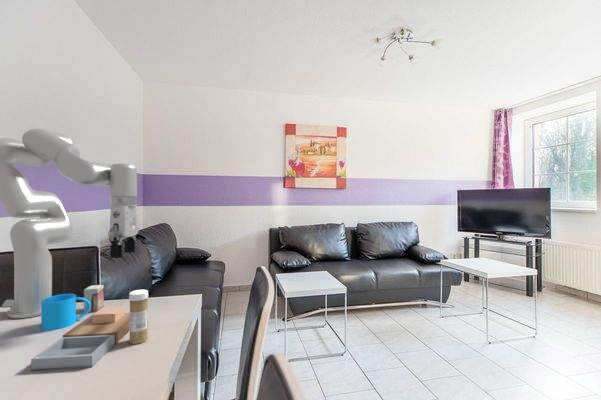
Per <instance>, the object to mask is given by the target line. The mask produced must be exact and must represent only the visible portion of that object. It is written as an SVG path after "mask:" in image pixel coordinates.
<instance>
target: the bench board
mask: <svg viewBox="0 0 601 400" xmlns="http://www.w3.org/2000/svg"><path fill="white" fill-rule="evenodd" d="M128 333H130V312H125V315H123V316H122V317H121V318H120V319H119V320H117V321H116V322H114V323H93V314H91V315H90V316H89V317H87V318H86V319H84V320H82V322H80V323H79V324H77V325H75V326H74V327H73V328H71V329H70V330H69V331H67V332H65V333H64V334H63V335H62V337H77V336H98V335H115V345H117V344H118V343H119V341H121V340H122V339H123V338H124V337H125V336H126V335H127V334H128Z"/></svg>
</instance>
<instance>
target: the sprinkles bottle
mask: <svg viewBox="0 0 601 400" xmlns="http://www.w3.org/2000/svg"><path fill="white" fill-rule="evenodd" d="M148 299H149V290H147V289H136V290H135V289H134V290H132V291H130V292H129V293H128V300H129V313H130V331H129V340H128V342H129V343H130V344H134V345H137V344H142V343H144V342H145V341H147V340H148V338H149V336H148V326H149V321H148V320H149V315H148V312H149V310H148Z"/></svg>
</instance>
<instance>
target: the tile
mask: <svg viewBox="0 0 601 400" xmlns="http://www.w3.org/2000/svg"><path fill="white" fill-rule="evenodd" d="M125 311H126V307H125V305H124V306H123V305H122V306H103V307H102V308H101V309H100V310H99V311H95V312H93V314H92V315H93V323H114V322H116V321H117V320H119V319H120V318H121V317H122V316H123V315H125V313H126V312H125Z"/></svg>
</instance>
